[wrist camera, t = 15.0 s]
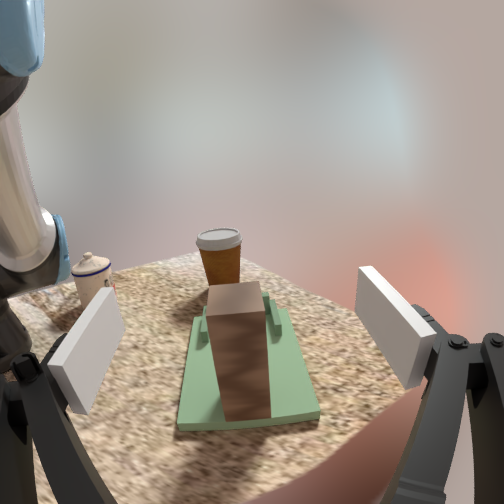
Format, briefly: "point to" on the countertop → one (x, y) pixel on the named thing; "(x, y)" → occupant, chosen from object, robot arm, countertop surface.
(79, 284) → the teacup with lid
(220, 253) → the disposable coffee cup
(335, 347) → the countertop surface
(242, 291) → the walnut block
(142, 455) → the countertop surface
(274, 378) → the pad
